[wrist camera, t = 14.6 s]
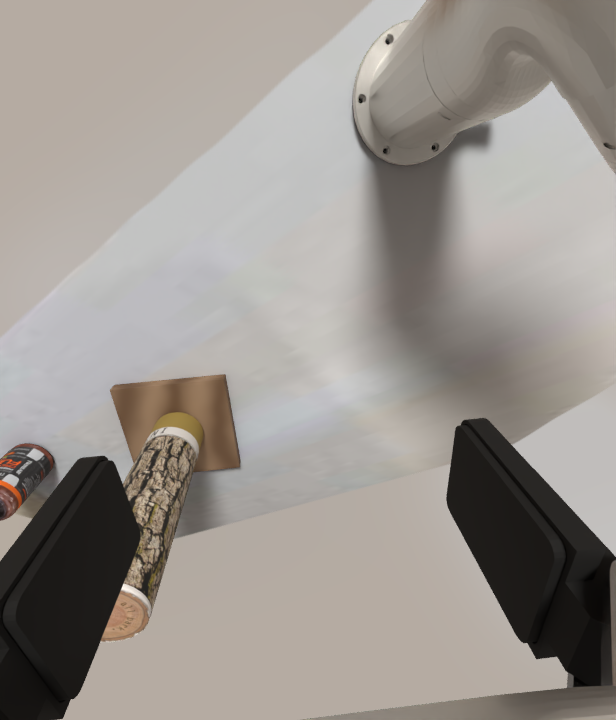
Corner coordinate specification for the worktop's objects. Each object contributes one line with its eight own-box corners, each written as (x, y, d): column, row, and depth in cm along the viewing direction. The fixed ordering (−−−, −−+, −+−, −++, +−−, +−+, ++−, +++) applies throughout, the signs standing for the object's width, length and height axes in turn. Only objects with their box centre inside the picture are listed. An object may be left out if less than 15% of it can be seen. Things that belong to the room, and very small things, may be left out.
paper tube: (211, 420, 50) (161, 598, 28) (194, 455, 53) (134, 648, 30) (164, 402, 49) (68, 578, 26) (148, 440, 51) (47, 632, 28)
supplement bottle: (38, 435, 51) (-22, 495, 40) (63, 466, 53) (13, 529, 43) (0, 449, 51) (-69, 511, 41) (27, 479, 53) (-31, 545, 43)
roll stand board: (225, 374, 49) (224, 379, 48) (240, 460, 55) (239, 467, 54) (114, 385, 49) (109, 390, 47) (142, 471, 55) (138, 478, 53)
